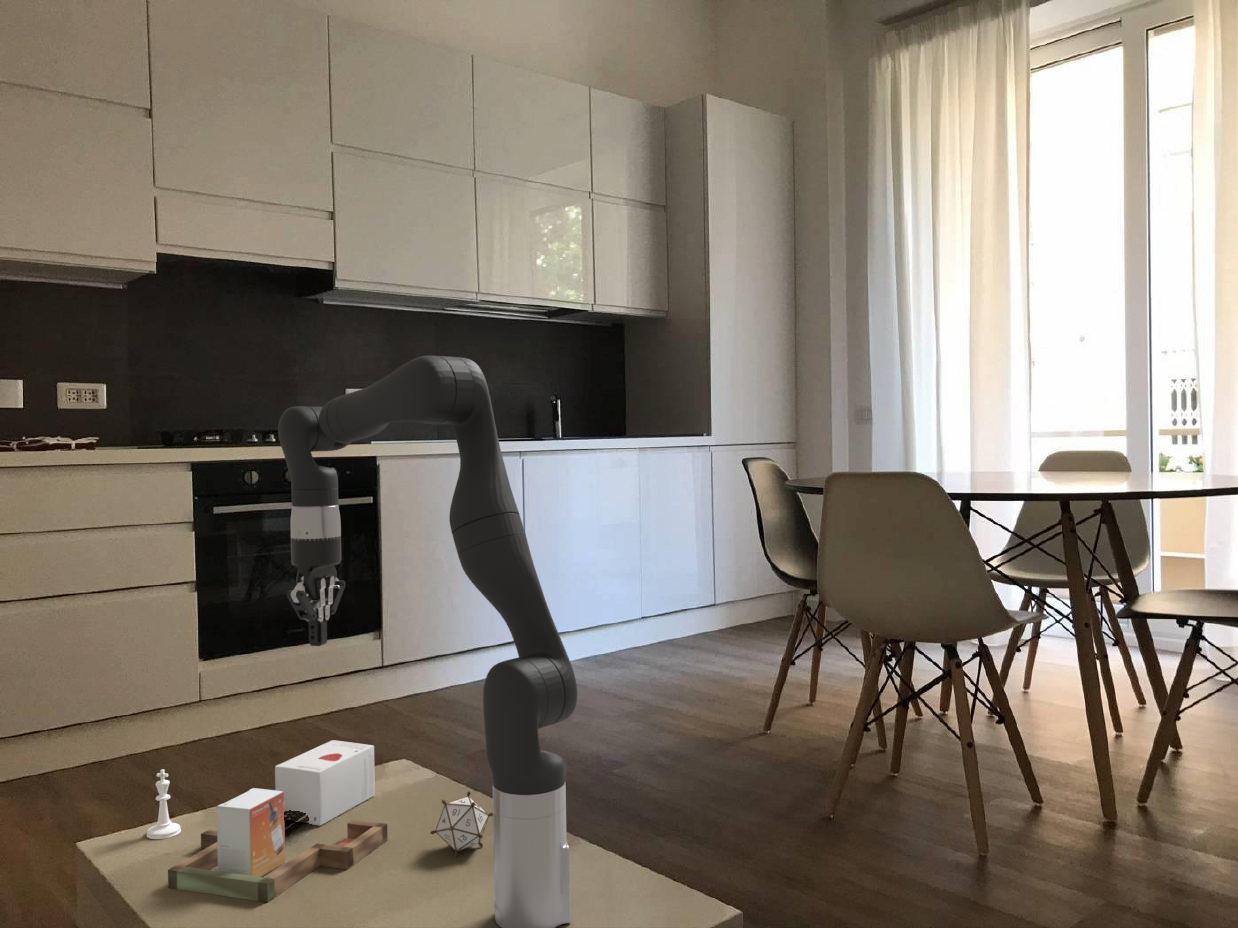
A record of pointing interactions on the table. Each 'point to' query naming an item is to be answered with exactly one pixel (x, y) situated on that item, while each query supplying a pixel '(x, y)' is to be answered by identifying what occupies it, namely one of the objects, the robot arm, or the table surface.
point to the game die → (462, 823)
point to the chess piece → (163, 812)
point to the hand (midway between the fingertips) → (318, 644)
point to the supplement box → (327, 780)
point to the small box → (251, 833)
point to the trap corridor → (344, 855)
